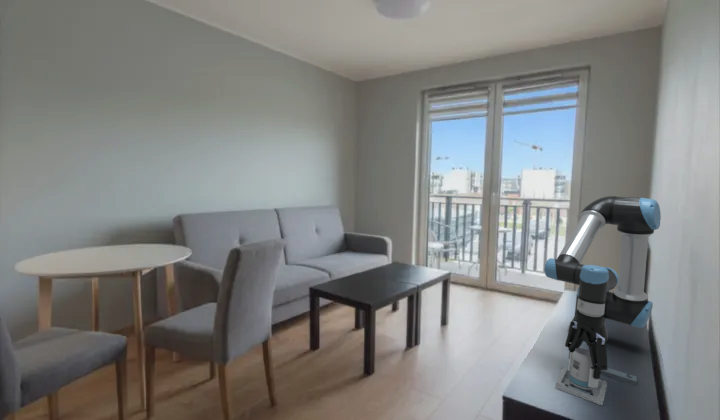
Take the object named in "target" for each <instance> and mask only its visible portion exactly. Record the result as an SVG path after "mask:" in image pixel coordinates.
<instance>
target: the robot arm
mask: <svg viewBox="0 0 720 420" xmlns="http://www.w3.org/2000/svg"><path fill="white" fill-rule="evenodd" d="M661 217H662V213H661V208H660V205H659V202H658V201H657V200H655V199H653V198H645V197H636V196H635V197H633V196H631V197H630V196H615V195H611V196H610V195H609V196H603V197H601V198H598V199H596V200H594V201H592V202H590V203H589V204H588V205H586V206H585V207H584V208H583V209H582V210H581V212H580V213H579V216H578V222H577V224H576V226H575V228H574V229H573V230H572V233H571V234H570V236H569V238H568V240H567V241H566V243H565V244H564V246H563V248H562V250H561V252H560V253H559V255H558V257H556V258H548V259H547V260H546V261H545V264H544V268H543V269H544V275H545V276H546V277H547V278H549V279H552V280H555V281H558V282H559V281H560V282H565V283H569V284H573V285H577V286H578V288H577V292H576V297H575V310H574V315H573V317H572V319H571V321H570V322H569V323H570V324H569V325H568V329H567V332H568V334H567V337H566V341H565V343H564V345H565V347H566V348H568V352H569V353H568V366H567V367H568V368H567V369H568V370H569V371H570V370H571V360H572V353H573V352H574V351H575V349H576V348H581V345H582V344H583V342H585V343H586V346H587V347H588V350H589V351H590V356H591V361H592V366H593V367H590V374H589V383H588V386H589V387H598V381H599V380H601V375H602V374H601V370H607V368H608V358H607V357H608V355H607V353H608V352H607V343H608V341H609V333H608V330H607V326H606V320H610V321H614V322H617V323H620V324H624V325H627V326H629V327H635V328H639V329H641V328H645V326H646V325H647V324H648V321H649V319H650V316H651V313H652V310H653V306H654V305H653V302H652V301H651V300H649V296H648V294H647V293H646V292H644V290H645V280H646V269H647V259H648V258H647V257H648V246H649V237H651V235H653V234H654V232H655V231H656V230H658V229H659V228H660V226H661V219H662V218H661ZM606 225H613V226H614V225H615V226H616V227H617V228H616V230H617V232H618V233H620V235H621V236H620V251H619V252H620V253H619V265H618V266H619V267H618V272H616V270H615V269H613V268H611V267H608V266H607V267H605V266H600V265H596V264H595V265H594V264H582V261H583V259H584V257H585V256H586V255H587V252H588V250H589V248H590V247H591V245H592V243H593V242H594V239H595V238H596V237H597V236H596V235H597V234H598V232H599V230H600V229H603V227H605V226H606ZM615 287H617V288H615ZM611 290H613V291H612V292H611Z"/></svg>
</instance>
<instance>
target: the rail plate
mask: <svg viewBox="0 0 720 420" xmlns="http://www.w3.org/2000/svg"><path fill="white" fill-rule="evenodd" d="M569 379H570V371H569V370H568V368H567V367H563V368H562V370H561V371H560V373H559V375H558V377H557V380H556V381H555V386H554V388H555V389H557V390H559V391H562V392H563V393H564V392H565V393H567V394H569V395H573V396H574V397H575V396H576V397H578V398H581V399H584V400H586V401H589V402H592V403H594V404H597V405H599V406H603V404H604V400H605V396H606V392H607V389H608V382H607V381H605V380H602V379H599V381H598V387H594V388H593V389H591V390H588V391H584V390H581V389H578V388H576V387H574V386H573V384H571V383H570V381H569Z"/></svg>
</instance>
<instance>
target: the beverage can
mask: <svg viewBox="0 0 720 420" xmlns="http://www.w3.org/2000/svg"><path fill="white" fill-rule="evenodd" d="M590 367H593V366H592V361H591V356H590V351H589V349H587V348H582V347H579V348H576V349H575V351H574V352H573V353H572V360H571V370H570V379H569V381H570V383H571V384H573V386H574V387H576V388H578V389H581V390H584V391H588V390H591V389H593V388H594V387H589V386H588V383H589V374H590Z"/></svg>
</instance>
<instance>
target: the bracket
mask: <svg viewBox="0 0 720 420" xmlns="http://www.w3.org/2000/svg"><path fill="white" fill-rule="evenodd" d="M600 375H601V376H606V377H608V378H611V379H614V380H617V381H619V382H620V381H621V382H624V383H627V384H630V385H633V386H637V381H638V377H637V376H636V375H633V374H629V375H628V374H627V372H626V373H625V372H622V371H619V370H617V369H612V368H609V367H607V370H601V374H600Z"/></svg>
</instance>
